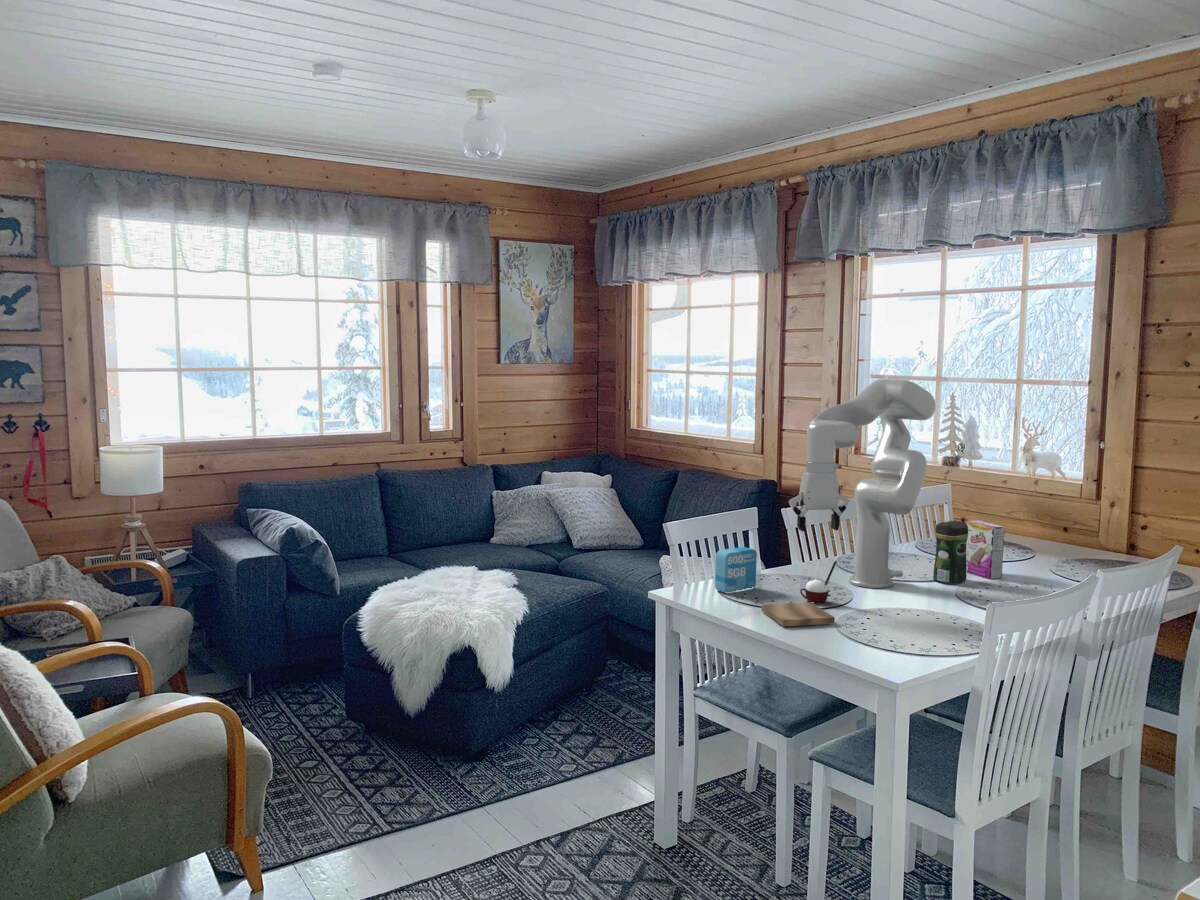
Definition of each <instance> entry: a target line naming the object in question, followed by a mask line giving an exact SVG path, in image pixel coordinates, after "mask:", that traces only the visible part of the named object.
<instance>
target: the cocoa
mask: <svg viewBox="0 0 1200 900" xmlns="http://www.w3.org/2000/svg"><path fill="white" fill-rule="evenodd" d="M837 563H838V562H837V560H834V561H833V564H832V566H831V568H830V570H829V573H828V576H827V577H826V580H825V582H824V581H822V580H819V579H812V580H810V581H807V583H806V585H805V588H801V589H800V595H801V596H802V597H803V599H806V600H807V602H809V601H810V602H814V603H822V604H824V603H826V602H827V600H828V597H829V591H830V590H829V588H830V587H829V585H828V583H829V580H830V578H831V576H832V574H833V571H834V569H835V567H836V565H837ZM803 591H804V592H805V593H803ZM823 602H824V603H823ZM814 603H813V604H814Z"/></svg>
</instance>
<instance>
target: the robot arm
mask: <svg viewBox="0 0 1200 900" xmlns="http://www.w3.org/2000/svg"><path fill="white" fill-rule="evenodd" d="M935 412H936V399H935V398H934V395H932V393H930V391H928V390H926V389H925V388H923V387H922V386H920V385H919V384H917V383H915V382H913V381H910V380H907V379H881V378H880V379H877V380H873V381H872V382H871V383H870V384H869V385H868V386H866V388H864V389H863V390H862V391H861V392H860V393H859V394H858V395H857V396H855V397H854V398H853V399H850V400H847V401H845V402H842V403H839V404H836V405H833V406H830V407H829V408H826V409H824V410H823V411H821V412H820V413H819V414H817V415H816V416H815V417H814V418H813V419H812V420H811V422H810V423H809V424H808V426H807V428H806V429H807V430H806V441H807V442H806V465H805V467H806V468H805V470H806V471H805V472H802V477H801V481H800V485H799V492H798V493H799V494H797V495H796V496H794V497H792V498H791V499H789V501H788V503H789V506H790V508H791V510H792V512H794V513H795V515H797V520H796V521H797V522H796V525H797V529H798V531H801V532H805V531H806V523H807V522H806V521H807V520H806V518H807V517H806V516H805V515H806V514H807V513H808V511H821V510H822V511H826V510H828V511H829V510H831V512H832V514H831V515H830V516H831V517H830V520H831V521H830V528H831V530H834V531H839V527H840V521H841V516H842V514H843V513H844V512H845V510H846V509H847V507H848V505H849V503H850V499H849V498H847V497H846V496H844V495H842V494H840V490H839V480H838V475H837V473H836V470H837V469H839V468H840V464H839V463H836V449H845V450H846V449H847V450H848V449H850V448H852V447H854V446H856V444H857V443H858V441H859V439H860V431H859V428H858V427H863V426H867V425H869V424H870V425H871V424H872V423H873V422H874V421H876V420H877V418H880V421H881V422H880V423H881V428H882V431H881V436H880V439H879V441H878V444H877V446H876V450H875V452H874V455H873V458H872V460H871V464H870V471H871V473H872V474H873V476H875V477H876V478H872V477H871V478H870V477H869V478H864V479H861V480H860V481H859V482H858V483H856V485H855V488H854V501H855V508H856V509H855V510H856V532H855V533H856V535H855V555H854V556H855V558H854V574H853V575H851V576H849V577H848V582H849V583H850V584H852V585H854V586H858V587H862V588H869V589H887V588H890V587H892V586H893V585H894V584H893V583H894V581H893V580H892V579H893V578H894V577H896V578H901V577H903V575H904V572H903V571H902V570H901V569H900V570H895V569H891V568H889V557H890V556H889V554H890V534H891V530H890V529H891V526H890V521H889V520H888V517H887V515H886V514H891V515H900V516H904V515H907V514H910V512H911V511H912V510H913V508H914V507H915V504H916V501H917V499H918V496H919V494H920V491H921V489H922V485H923V484H924V480H925V477H926V474H927V467H928V466H927V465H928V464H927V459H926V456H925V455H924V454H923V453H922V452H921V451H918V450H915V449H914V450H913V449H909V446H910V443H911V442H912V440H911V439H912V438H911V434H910V431H909V429H908V427H907V426H906V425H905V422H904V421H903V420H908V421H909V420H911V421H913V420H914V421H926V420H929V419H931V418H932V417H933V415H934V414H935ZM840 501H841V504H840ZM797 503H798V506H799V508H798V506H797ZM839 504H840V505H839Z"/></svg>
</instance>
